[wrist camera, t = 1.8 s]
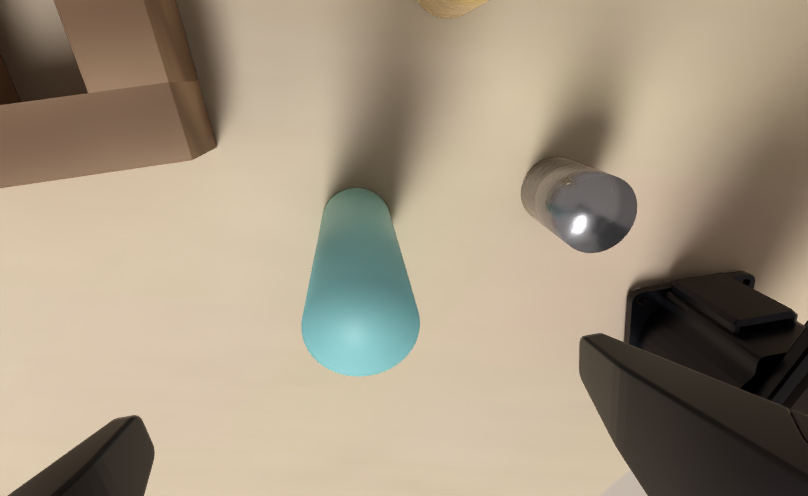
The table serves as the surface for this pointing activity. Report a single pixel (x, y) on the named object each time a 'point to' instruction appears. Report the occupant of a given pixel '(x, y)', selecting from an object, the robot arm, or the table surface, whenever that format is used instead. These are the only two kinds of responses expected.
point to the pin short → (579, 203)
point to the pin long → (359, 289)
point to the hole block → (109, 98)
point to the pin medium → (450, 7)
